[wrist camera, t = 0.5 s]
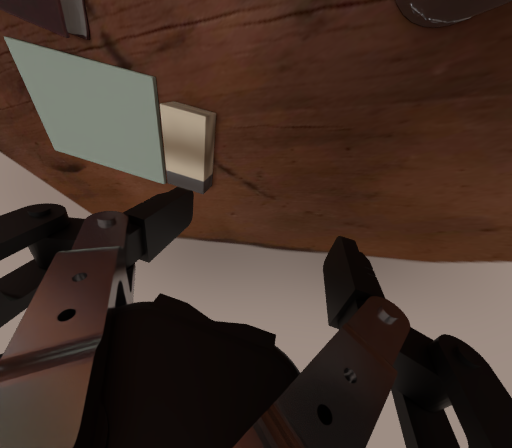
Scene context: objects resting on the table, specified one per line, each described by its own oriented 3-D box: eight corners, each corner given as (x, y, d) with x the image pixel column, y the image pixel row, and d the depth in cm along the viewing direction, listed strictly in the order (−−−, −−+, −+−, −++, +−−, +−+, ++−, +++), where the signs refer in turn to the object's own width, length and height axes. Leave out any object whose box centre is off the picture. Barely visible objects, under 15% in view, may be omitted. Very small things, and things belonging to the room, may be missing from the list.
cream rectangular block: (174, 101, 24) (159, 103, 22) (216, 113, 24) (205, 116, 21) (179, 175, 30) (167, 183, 28) (212, 185, 30) (203, 194, 28)
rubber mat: (9, 37, 24) (3, 36, 24) (155, 76, 23) (152, 77, 22) (58, 148, 33) (54, 149, 33) (166, 182, 32) (164, 184, 31)
